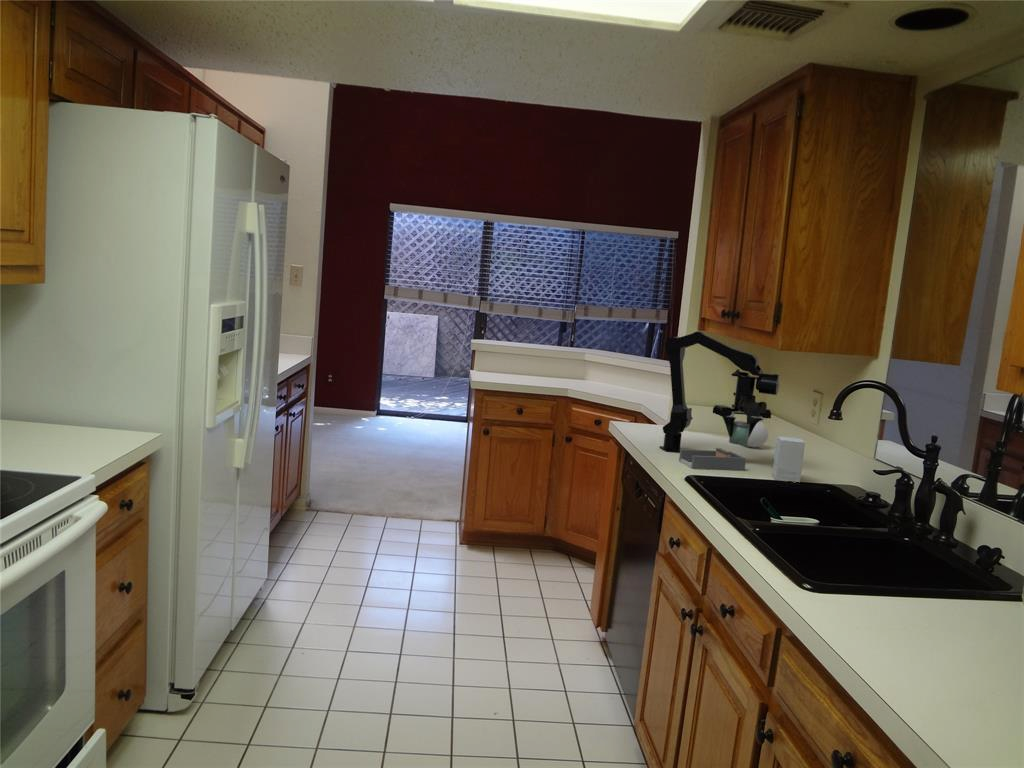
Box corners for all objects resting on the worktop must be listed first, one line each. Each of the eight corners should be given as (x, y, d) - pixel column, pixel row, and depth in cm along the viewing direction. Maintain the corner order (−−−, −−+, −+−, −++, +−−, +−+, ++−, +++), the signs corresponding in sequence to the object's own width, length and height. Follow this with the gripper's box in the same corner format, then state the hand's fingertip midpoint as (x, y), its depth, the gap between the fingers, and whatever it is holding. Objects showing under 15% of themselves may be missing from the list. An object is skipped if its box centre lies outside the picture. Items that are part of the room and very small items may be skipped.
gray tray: (678, 461, 248) (680, 449, 247) (729, 463, 252) (730, 451, 251) (692, 468, 238) (694, 456, 238) (744, 470, 242) (746, 458, 242)
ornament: (756, 451, 278) (760, 418, 277) (732, 445, 286) (736, 413, 284) (771, 449, 285) (775, 417, 284) (747, 443, 293) (751, 412, 291)
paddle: (714, 462, 249) (715, 447, 249) (718, 463, 250) (720, 448, 249) (725, 468, 242) (726, 453, 241) (729, 468, 242) (731, 453, 242)
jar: (725, 440, 257) (727, 420, 256) (741, 441, 258) (744, 421, 258) (734, 444, 251) (737, 423, 250) (751, 445, 252) (754, 424, 252)
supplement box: (800, 483, 231) (805, 442, 230) (774, 480, 233) (780, 439, 231) (796, 477, 238) (801, 438, 237) (771, 474, 240) (776, 435, 238)
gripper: (731, 393, 243) (725, 441, 245) (783, 396, 247) (777, 443, 249) (714, 388, 254) (709, 434, 255) (765, 391, 258) (759, 436, 260)
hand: (738, 437), depth 255 cm, fingers closed on jar, 6 cm apart
